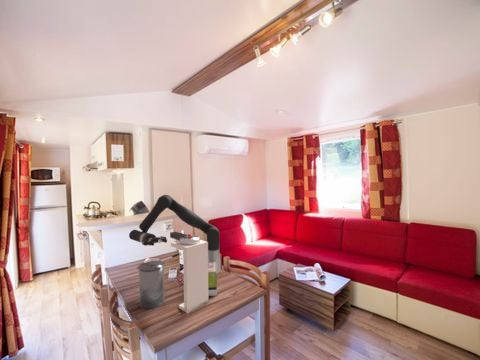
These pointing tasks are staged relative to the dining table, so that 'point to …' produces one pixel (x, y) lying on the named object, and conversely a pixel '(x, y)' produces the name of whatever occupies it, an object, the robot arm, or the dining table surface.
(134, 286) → the dining table surface
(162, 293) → the grey glass jar
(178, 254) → the frying pan
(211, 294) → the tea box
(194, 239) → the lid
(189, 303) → the white bookcase side
